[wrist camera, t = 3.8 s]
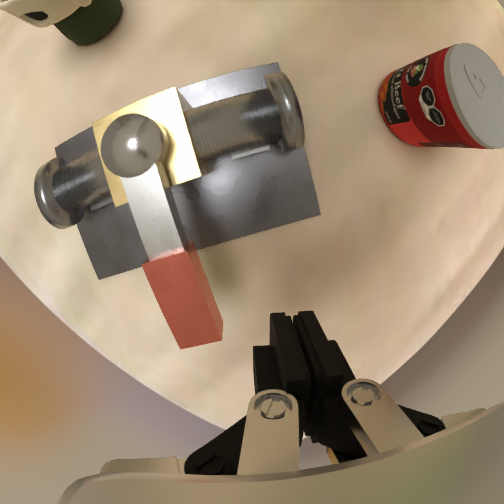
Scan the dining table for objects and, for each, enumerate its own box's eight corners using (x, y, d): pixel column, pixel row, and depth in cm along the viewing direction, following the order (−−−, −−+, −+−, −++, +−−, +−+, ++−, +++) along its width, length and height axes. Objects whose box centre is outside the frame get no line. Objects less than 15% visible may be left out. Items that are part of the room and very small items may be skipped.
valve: (277, 63, 20) (291, 30, 14) (319, 213, 25) (348, 233, 18) (56, 147, 21) (11, 148, 14) (100, 278, 25) (67, 311, 19)
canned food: (388, 58, 20) (457, 22, 9) (445, 103, 21) (519, 94, 11) (363, 117, 22) (438, 98, 12) (425, 161, 23) (505, 170, 13)
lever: (108, 131, 15) (91, 128, 12) (160, 109, 15) (148, 101, 12) (181, 330, 19) (174, 350, 17) (229, 318, 19) (228, 338, 17)
